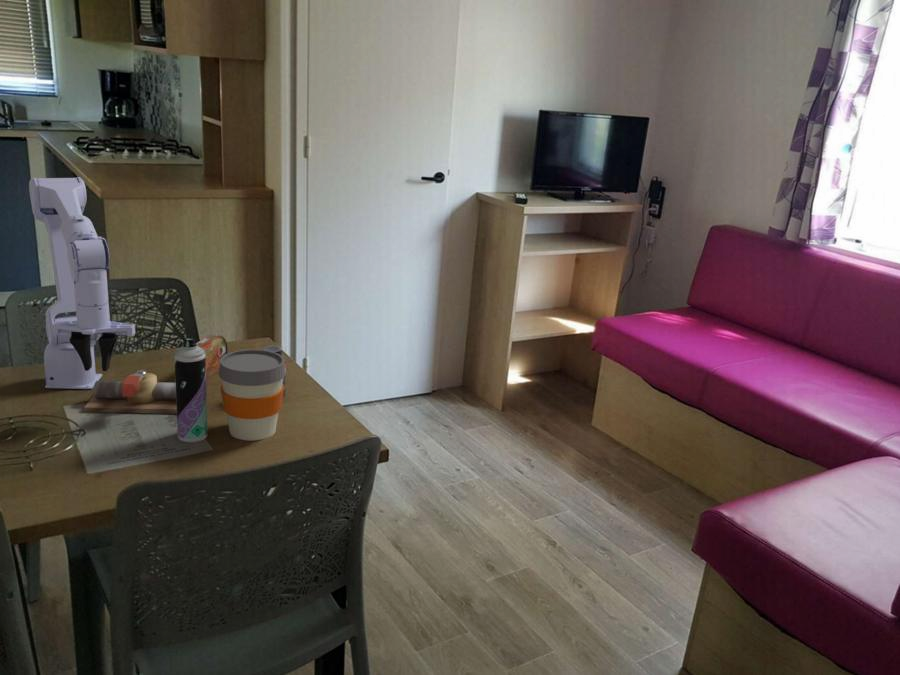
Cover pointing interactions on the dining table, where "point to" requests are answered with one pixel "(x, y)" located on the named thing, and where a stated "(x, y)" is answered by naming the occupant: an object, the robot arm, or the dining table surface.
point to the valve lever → (133, 384)
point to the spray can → (191, 392)
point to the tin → (213, 352)
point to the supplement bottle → (278, 351)
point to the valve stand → (145, 401)
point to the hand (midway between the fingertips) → (97, 369)
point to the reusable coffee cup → (252, 392)
